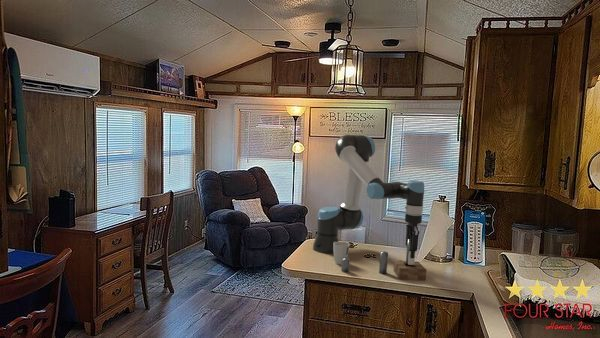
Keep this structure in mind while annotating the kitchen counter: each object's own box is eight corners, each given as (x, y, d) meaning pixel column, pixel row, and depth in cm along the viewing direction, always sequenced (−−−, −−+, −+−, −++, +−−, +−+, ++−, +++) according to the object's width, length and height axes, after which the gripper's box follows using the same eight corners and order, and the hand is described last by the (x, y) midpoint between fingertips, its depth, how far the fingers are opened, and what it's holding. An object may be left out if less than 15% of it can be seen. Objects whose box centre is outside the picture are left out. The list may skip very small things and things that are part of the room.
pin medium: (378, 271, 208) (379, 251, 207) (385, 271, 208) (387, 251, 207) (379, 273, 204) (381, 253, 203) (387, 274, 204) (388, 253, 203)
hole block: (393, 270, 210) (394, 260, 210) (417, 271, 210) (418, 261, 210) (399, 279, 198) (400, 268, 198) (425, 280, 198) (426, 269, 198)
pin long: (404, 269, 206) (406, 238, 204) (411, 269, 206) (414, 238, 205) (406, 271, 202) (408, 240, 201) (414, 272, 202) (416, 240, 201)
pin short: (341, 269, 207) (341, 257, 207) (348, 270, 207) (349, 257, 207) (341, 272, 204) (342, 259, 203) (349, 272, 204) (350, 260, 203)
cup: (347, 266, 213) (348, 246, 212) (331, 264, 214) (332, 244, 213) (349, 261, 221) (350, 242, 220) (333, 260, 222) (334, 240, 221)
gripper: (401, 210, 210) (397, 257, 212) (410, 217, 193) (406, 268, 195) (416, 211, 210) (412, 258, 212) (427, 218, 193) (423, 269, 196)
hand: (409, 262), depth 204 cm, fingers closed on pin long, 4 cm apart
